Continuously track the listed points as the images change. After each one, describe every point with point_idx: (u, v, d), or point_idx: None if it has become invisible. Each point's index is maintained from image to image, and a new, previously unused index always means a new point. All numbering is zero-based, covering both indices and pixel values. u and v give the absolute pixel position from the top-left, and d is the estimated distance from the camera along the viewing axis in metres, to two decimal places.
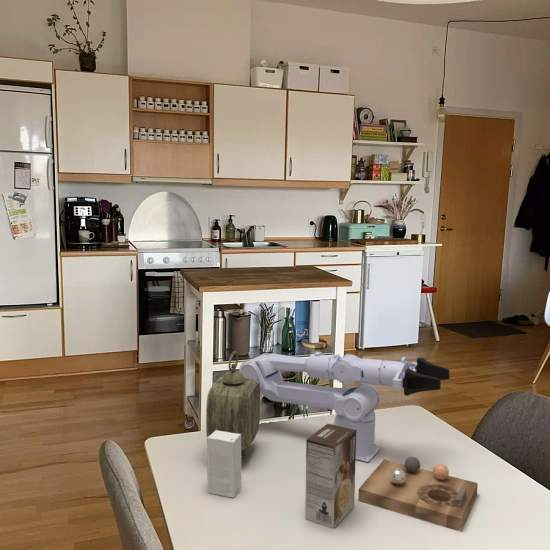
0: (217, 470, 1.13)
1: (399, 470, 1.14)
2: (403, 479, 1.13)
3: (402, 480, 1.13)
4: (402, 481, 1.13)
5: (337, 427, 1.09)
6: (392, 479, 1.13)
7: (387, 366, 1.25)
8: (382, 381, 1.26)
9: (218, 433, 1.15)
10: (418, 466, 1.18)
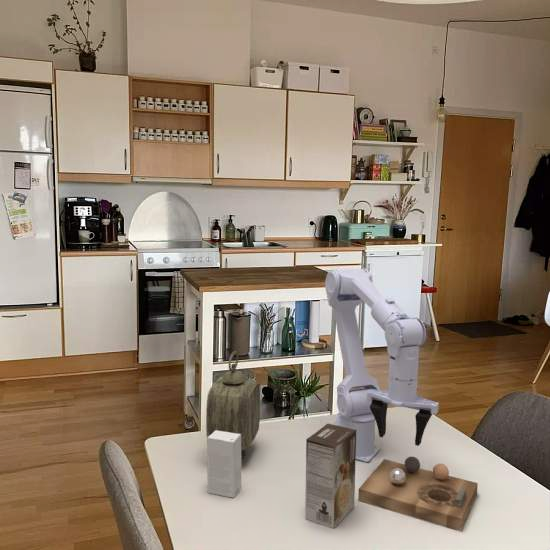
0: (217, 470, 1.13)
1: (399, 470, 1.14)
2: (403, 479, 1.13)
3: (402, 480, 1.13)
4: (402, 481, 1.13)
5: (337, 427, 1.09)
6: (392, 479, 1.13)
7: (390, 384, 1.14)
8: None
9: (218, 433, 1.15)
10: (418, 466, 1.18)
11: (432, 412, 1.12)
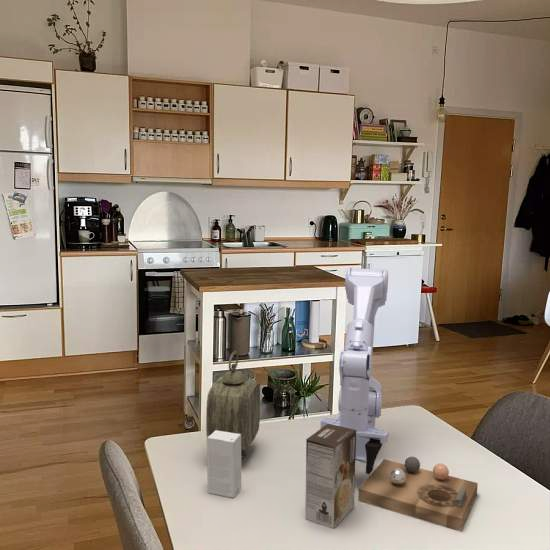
0: (217, 470, 1.13)
1: (399, 470, 1.14)
2: (403, 479, 1.13)
3: (402, 480, 1.13)
4: (402, 481, 1.13)
5: (337, 427, 1.09)
6: (392, 479, 1.13)
7: (342, 414, 1.17)
8: None
9: (218, 433, 1.15)
10: (418, 466, 1.18)
11: (381, 442, 1.14)
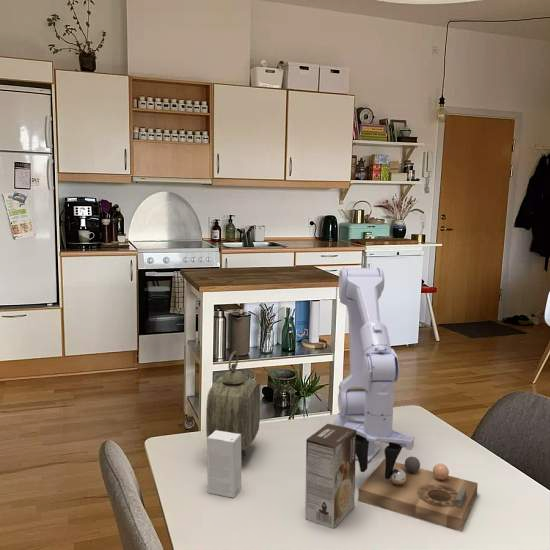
0: (217, 470, 1.13)
1: (400, 471, 1.13)
2: (404, 480, 1.13)
3: (402, 481, 1.13)
4: (402, 482, 1.13)
5: (337, 427, 1.09)
6: (392, 479, 1.13)
7: (366, 419, 1.14)
8: None
9: (218, 433, 1.15)
10: (418, 466, 1.18)
11: (407, 448, 1.11)
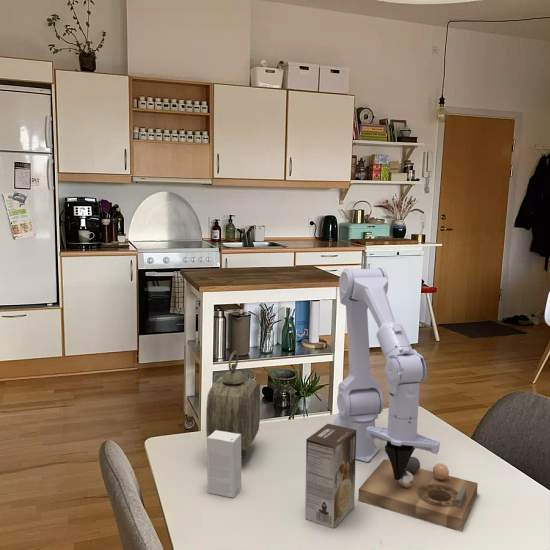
0: (217, 470, 1.13)
1: (412, 480, 1.12)
2: (407, 487, 1.12)
3: (406, 487, 1.12)
4: (405, 487, 1.13)
5: (337, 427, 1.09)
6: (401, 479, 1.12)
7: (390, 422, 1.11)
8: None
9: (218, 433, 1.15)
10: (418, 466, 1.18)
11: (433, 452, 1.08)
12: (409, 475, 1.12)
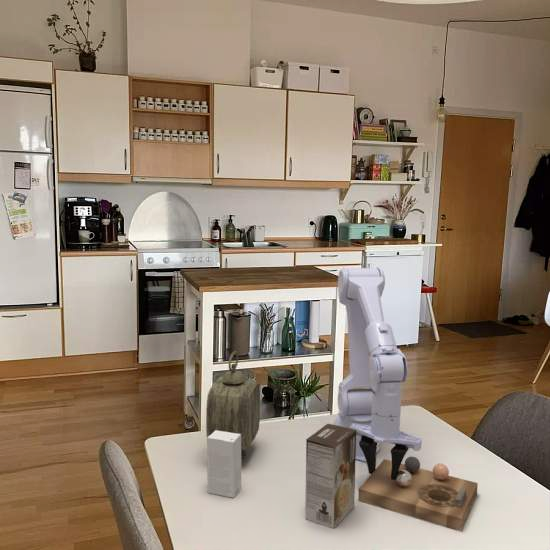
0: (217, 470, 1.13)
1: (410, 477, 1.12)
2: (407, 485, 1.13)
3: (405, 486, 1.12)
4: (405, 486, 1.13)
5: (337, 427, 1.09)
6: (398, 478, 1.13)
7: (373, 420, 1.13)
8: None
9: (218, 433, 1.15)
10: (418, 466, 1.18)
11: (415, 449, 1.10)
12: (405, 472, 1.13)
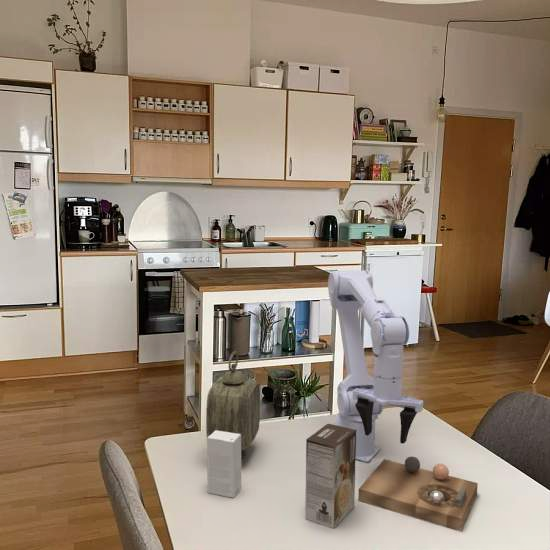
0: (217, 470, 1.13)
1: (433, 492, 1.10)
2: (441, 498, 1.09)
3: (441, 500, 1.09)
4: (442, 501, 1.09)
5: (337, 427, 1.09)
6: None
7: (375, 383, 1.15)
8: None
9: (218, 433, 1.15)
10: (418, 466, 1.18)
11: (416, 410, 1.12)
12: None
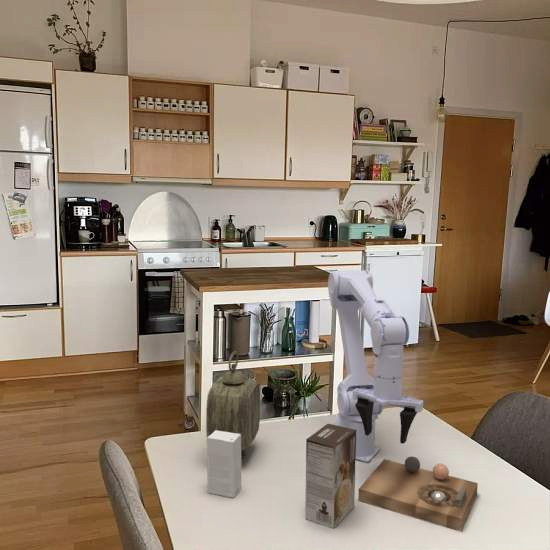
0: (217, 470, 1.13)
1: (436, 493, 1.10)
2: (444, 500, 1.09)
3: None
4: None
5: (337, 427, 1.09)
6: None
7: (375, 383, 1.15)
8: None
9: (218, 433, 1.15)
10: (418, 466, 1.18)
11: (416, 410, 1.12)
12: (431, 494, 1.10)
